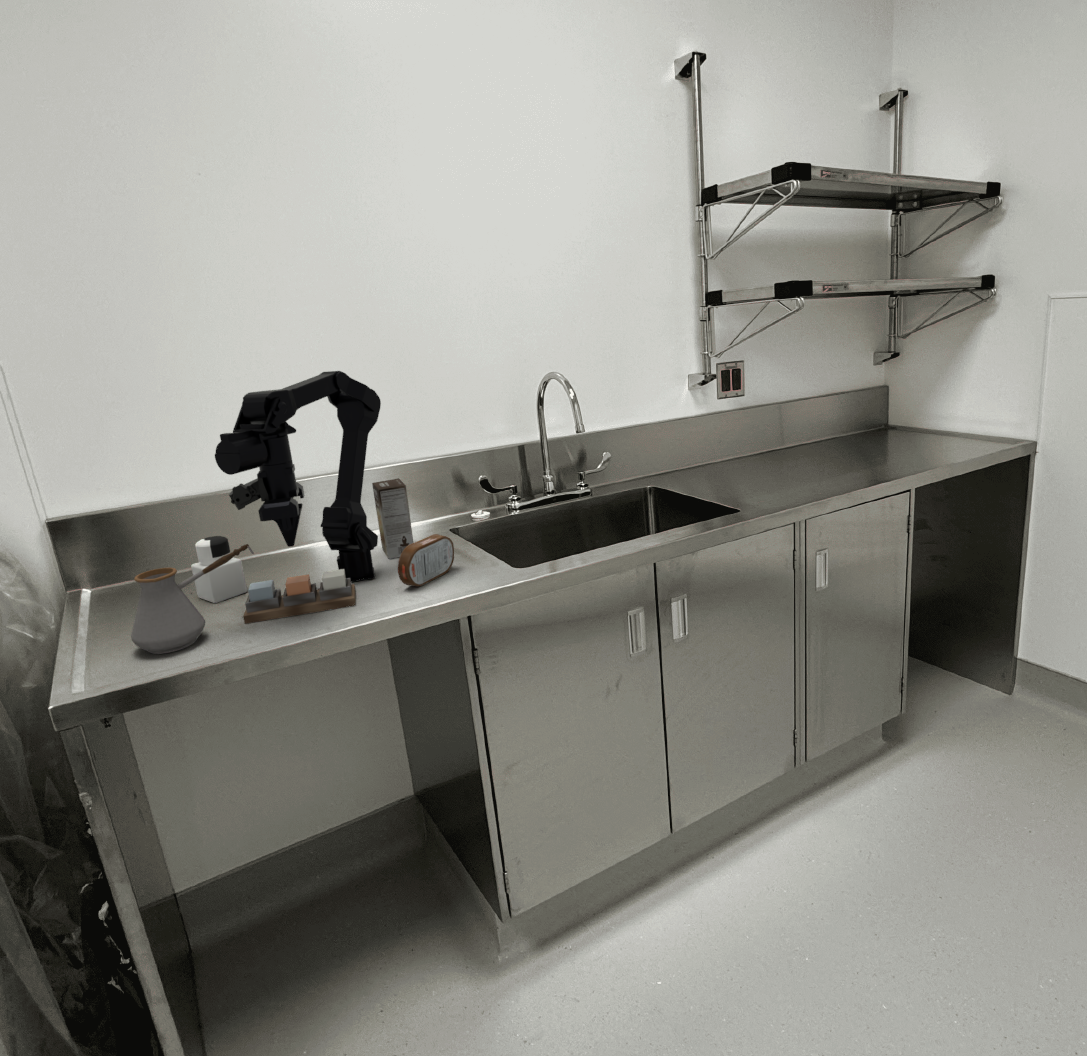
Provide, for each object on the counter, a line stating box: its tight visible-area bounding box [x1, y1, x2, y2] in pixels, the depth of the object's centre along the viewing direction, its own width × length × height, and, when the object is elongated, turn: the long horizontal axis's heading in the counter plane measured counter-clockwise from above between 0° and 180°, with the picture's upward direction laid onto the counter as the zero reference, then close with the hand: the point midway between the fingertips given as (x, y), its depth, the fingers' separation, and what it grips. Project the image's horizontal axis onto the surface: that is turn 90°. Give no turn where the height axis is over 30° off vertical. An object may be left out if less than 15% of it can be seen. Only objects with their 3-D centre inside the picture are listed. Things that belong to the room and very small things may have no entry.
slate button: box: [247, 579, 276, 602], centre depth 136 cm, size 4×4×3 cm
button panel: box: [242, 578, 357, 625], centre depth 138 cm, size 20×8×3 cm, turn 104°
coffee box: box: [371, 478, 415, 560], centre depth 165 cm, size 9×6×16 cm
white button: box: [321, 569, 347, 590], centre depth 138 cm, size 4×4×3 cm
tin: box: [397, 533, 455, 587], centre depth 146 cm, size 15×3×8 cm, turn 149°
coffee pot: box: [130, 543, 255, 655], centre depth 126 cm, size 21×12×15 cm, turn 115°
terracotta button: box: [284, 573, 312, 596], centre depth 137 cm, size 4×4×3 cm
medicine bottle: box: [190, 535, 248, 604], centre depth 147 cm, size 7×7×12 cm
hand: (291, 546), depth 135 cm, fingers closed
